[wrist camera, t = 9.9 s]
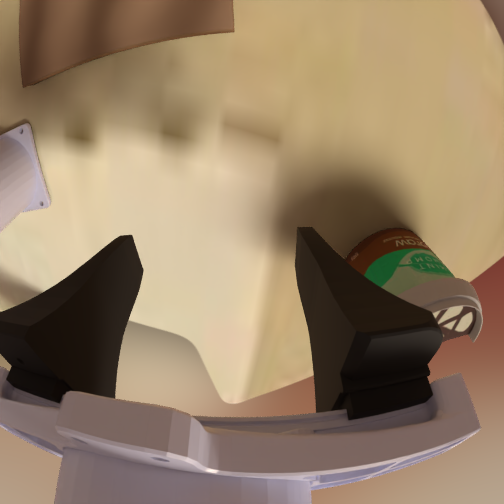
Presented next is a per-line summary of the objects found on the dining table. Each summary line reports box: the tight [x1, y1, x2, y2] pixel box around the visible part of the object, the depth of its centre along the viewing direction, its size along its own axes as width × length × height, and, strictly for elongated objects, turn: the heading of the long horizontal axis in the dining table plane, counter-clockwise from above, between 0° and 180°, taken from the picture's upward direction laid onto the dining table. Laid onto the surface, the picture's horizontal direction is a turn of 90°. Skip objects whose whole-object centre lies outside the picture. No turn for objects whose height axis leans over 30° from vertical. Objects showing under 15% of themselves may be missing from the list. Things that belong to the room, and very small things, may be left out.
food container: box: [345, 228, 483, 342], centre depth 20 cm, size 12×6×10 cm, turn 94°
